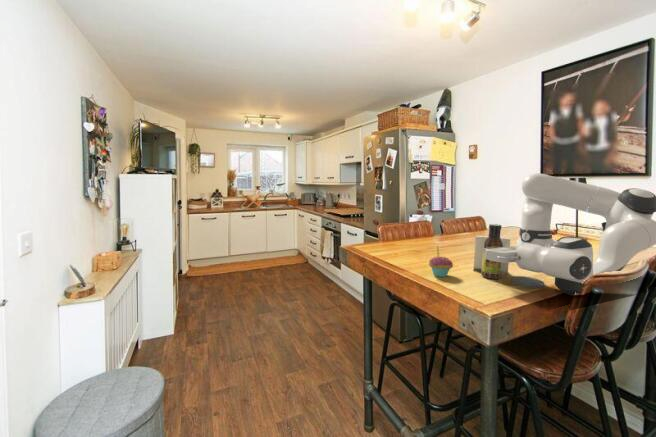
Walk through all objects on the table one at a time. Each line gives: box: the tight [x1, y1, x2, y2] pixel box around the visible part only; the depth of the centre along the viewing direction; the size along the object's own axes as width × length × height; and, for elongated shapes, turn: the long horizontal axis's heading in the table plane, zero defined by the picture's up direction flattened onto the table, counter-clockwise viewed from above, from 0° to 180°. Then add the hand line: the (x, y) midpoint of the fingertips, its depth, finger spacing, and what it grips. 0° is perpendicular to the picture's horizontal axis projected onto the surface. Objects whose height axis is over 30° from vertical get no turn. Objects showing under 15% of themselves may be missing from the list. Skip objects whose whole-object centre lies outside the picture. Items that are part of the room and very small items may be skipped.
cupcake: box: [428, 244, 454, 278], centre depth 122 cm, size 9×8×12 cm
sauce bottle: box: [481, 223, 503, 280], centre depth 119 cm, size 6×6×20 cm
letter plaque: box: [473, 235, 511, 275], centre depth 127 cm, size 12×4×14 cm, turn 64°
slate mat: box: [510, 275, 545, 289], centre depth 113 cm, size 10×10×1 cm
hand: (493, 249), depth 118 cm, fingers open, 8 cm apart
